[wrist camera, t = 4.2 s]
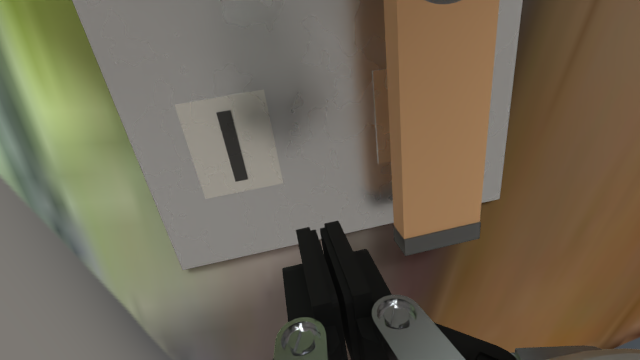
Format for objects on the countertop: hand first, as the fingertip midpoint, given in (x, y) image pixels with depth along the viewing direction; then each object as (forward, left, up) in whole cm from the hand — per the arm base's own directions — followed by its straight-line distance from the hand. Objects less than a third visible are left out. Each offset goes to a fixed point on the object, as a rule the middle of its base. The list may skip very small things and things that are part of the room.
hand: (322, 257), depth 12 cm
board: (-3, +3, -10) cm, 11 cm away
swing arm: (-4, +8, -7) cm, 11 cm away
